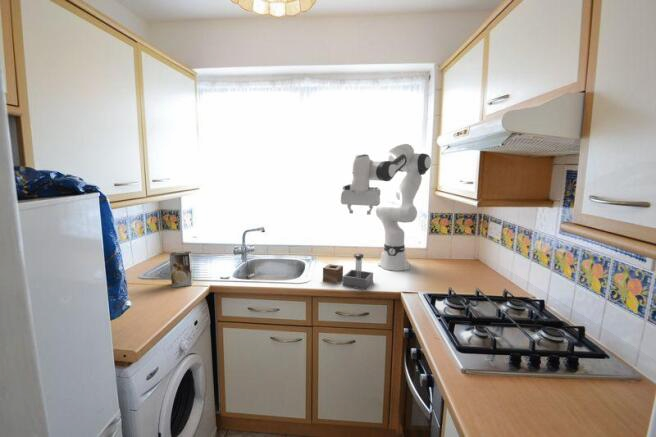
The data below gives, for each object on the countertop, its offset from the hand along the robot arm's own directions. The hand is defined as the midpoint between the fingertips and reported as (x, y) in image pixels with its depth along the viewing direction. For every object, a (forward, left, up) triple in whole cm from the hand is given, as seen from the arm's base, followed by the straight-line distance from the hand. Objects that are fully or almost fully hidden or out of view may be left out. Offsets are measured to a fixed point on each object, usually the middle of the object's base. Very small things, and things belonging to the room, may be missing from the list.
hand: (359, 213), depth 161 cm
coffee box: (+45, -77, -35) cm, 96 cm away
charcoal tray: (+6, +2, -35) cm, 36 cm away
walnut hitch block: (+6, -12, -35) cm, 38 cm away
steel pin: (+6, +2, -34) cm, 35 cm away
